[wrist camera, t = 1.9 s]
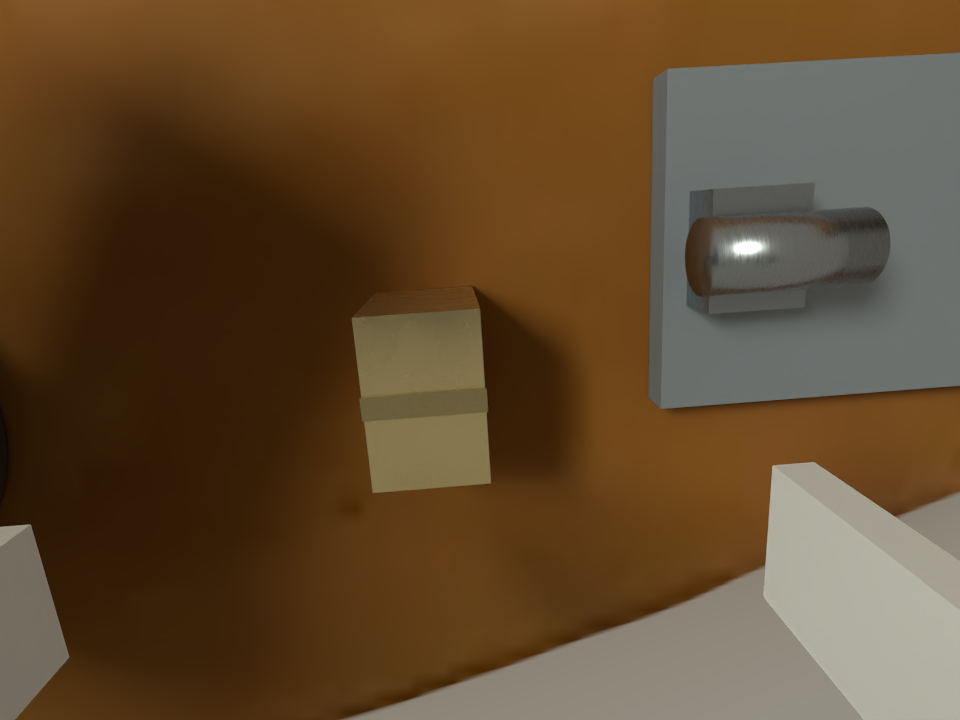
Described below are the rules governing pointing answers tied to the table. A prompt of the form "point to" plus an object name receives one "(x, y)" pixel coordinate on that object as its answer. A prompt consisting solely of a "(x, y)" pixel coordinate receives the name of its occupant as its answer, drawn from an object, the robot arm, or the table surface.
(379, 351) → the tan rectangular block
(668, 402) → the base plate
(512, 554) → the table surface
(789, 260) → the shaft
